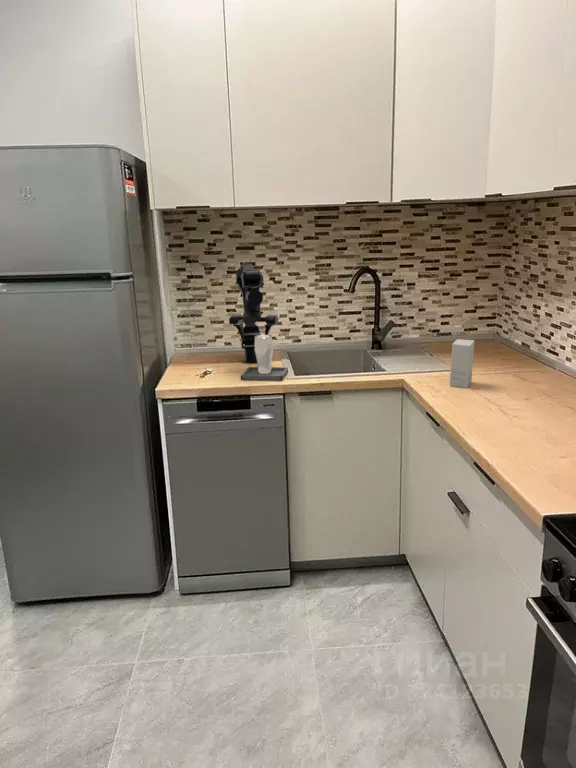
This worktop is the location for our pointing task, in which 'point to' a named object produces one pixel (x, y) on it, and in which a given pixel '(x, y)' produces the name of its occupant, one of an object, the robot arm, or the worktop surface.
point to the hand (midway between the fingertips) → (254, 340)
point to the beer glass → (264, 354)
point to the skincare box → (461, 363)
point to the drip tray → (252, 375)
